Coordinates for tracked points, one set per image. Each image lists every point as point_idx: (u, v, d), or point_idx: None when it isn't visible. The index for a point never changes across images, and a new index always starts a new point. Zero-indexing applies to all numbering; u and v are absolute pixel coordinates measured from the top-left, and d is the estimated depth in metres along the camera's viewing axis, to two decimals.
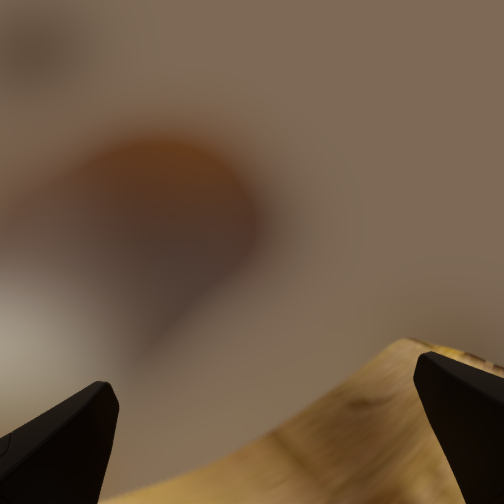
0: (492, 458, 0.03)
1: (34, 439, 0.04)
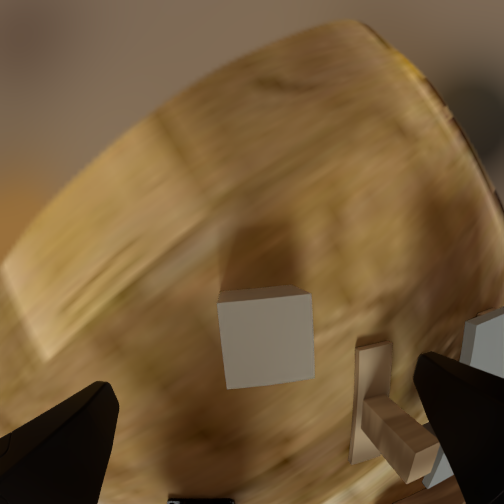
0: (493, 458, 0.03)
1: (34, 439, 0.04)
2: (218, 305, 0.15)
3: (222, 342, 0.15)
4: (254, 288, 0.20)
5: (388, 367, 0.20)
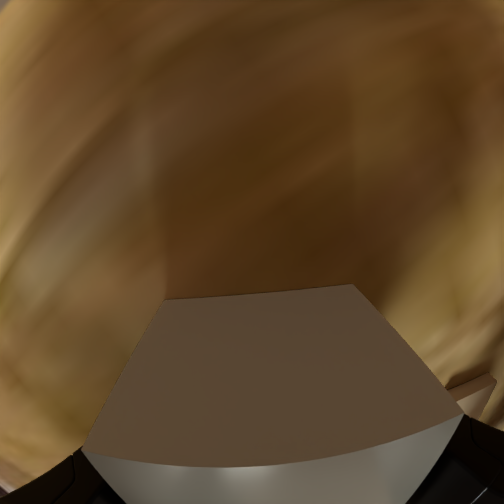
0: (428, 494, 0.03)
1: None
2: (88, 458, 0.02)
3: None
4: (254, 296, 0.07)
5: (478, 414, 0.08)
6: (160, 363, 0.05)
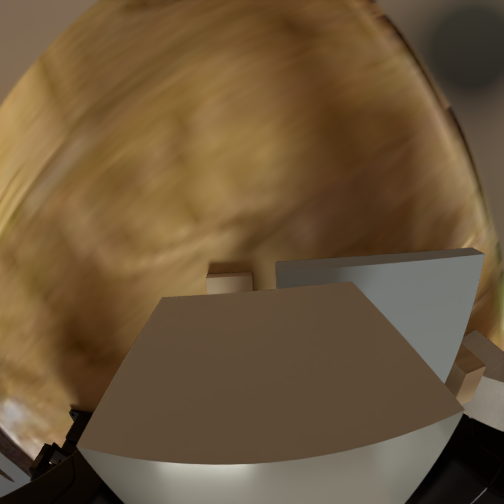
0: (428, 494, 0.03)
1: None
2: (83, 454, 0.02)
3: None
4: (252, 294, 0.07)
5: None
6: (157, 359, 0.05)
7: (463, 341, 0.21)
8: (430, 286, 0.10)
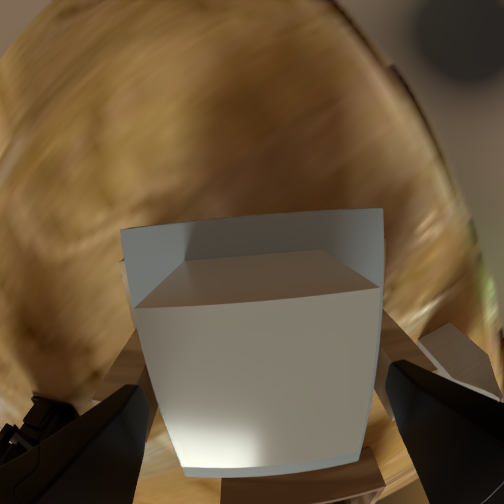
0: (462, 477, 0.03)
1: (68, 451, 0.04)
2: (137, 315, 0.05)
3: (158, 394, 0.06)
4: (248, 256, 0.10)
5: None
6: (185, 279, 0.08)
7: (433, 336, 0.20)
8: (300, 246, 0.10)
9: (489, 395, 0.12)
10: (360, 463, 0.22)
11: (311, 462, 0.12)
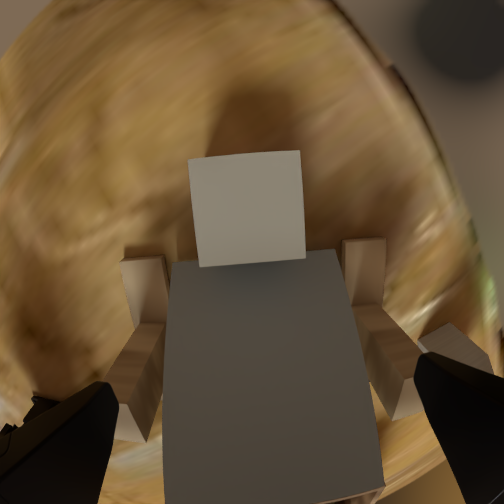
0: (493, 458, 0.03)
1: (34, 439, 0.04)
2: None
3: None
4: None
5: (162, 288, 0.18)
6: None
7: (433, 336, 0.20)
8: (283, 269, 0.17)
9: None
10: None
11: (323, 484, 0.09)
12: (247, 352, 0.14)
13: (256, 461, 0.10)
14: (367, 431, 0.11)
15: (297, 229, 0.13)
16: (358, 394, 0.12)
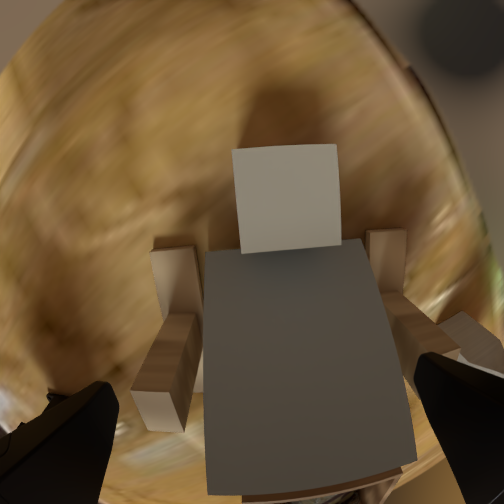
0: (493, 458, 0.03)
1: (34, 439, 0.04)
2: None
3: None
4: None
5: (193, 278, 0.19)
6: None
7: (448, 324, 0.21)
8: (314, 258, 0.17)
9: (503, 377, 0.13)
10: None
11: (362, 461, 0.10)
12: (286, 336, 0.14)
13: (299, 442, 0.11)
14: (400, 408, 0.11)
15: (334, 217, 0.14)
16: (390, 373, 0.12)
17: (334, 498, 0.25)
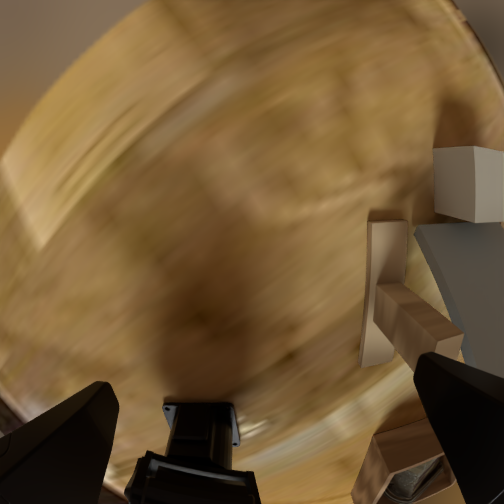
0: (492, 458, 0.03)
1: (34, 439, 0.04)
2: (433, 148, 0.18)
3: (448, 147, 0.16)
4: None
5: (404, 249, 0.19)
6: None
7: None
8: (483, 232, 0.17)
9: None
10: None
11: None
12: (492, 285, 0.14)
13: None
14: None
15: None
16: None
17: (432, 464, 0.25)
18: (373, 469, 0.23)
